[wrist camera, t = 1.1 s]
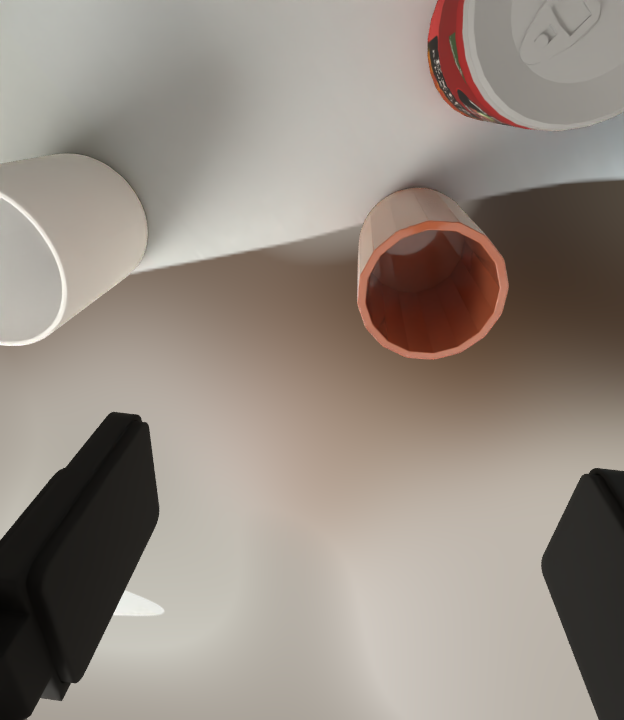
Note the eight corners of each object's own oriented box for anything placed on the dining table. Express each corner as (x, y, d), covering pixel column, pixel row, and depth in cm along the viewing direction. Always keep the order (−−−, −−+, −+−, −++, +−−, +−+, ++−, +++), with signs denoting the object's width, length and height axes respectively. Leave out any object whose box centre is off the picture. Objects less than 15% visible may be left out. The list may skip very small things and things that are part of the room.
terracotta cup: (478, 190, 27) (525, 226, 20) (456, 297, 31) (488, 364, 23) (364, 184, 28) (365, 216, 20) (354, 290, 31) (352, 353, 23)
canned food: (396, 75, 25) (418, 60, 16) (491, -106, 21) (598, -273, 12) (511, 148, 26) (598, 176, 17) (621, -11, 22) (813, -93, 13)
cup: (164, 277, 32) (90, 344, 23) (6, 284, 34) (-121, 350, 25) (133, 146, 28) (28, 167, 19) (-45, 160, 30) (-218, 187, 21)
